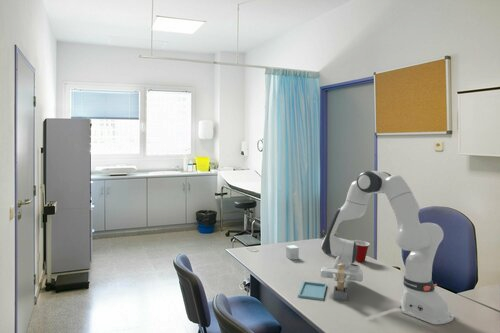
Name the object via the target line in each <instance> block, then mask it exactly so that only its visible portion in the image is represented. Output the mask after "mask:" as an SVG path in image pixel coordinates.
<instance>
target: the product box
mask: <svg viewBox="0 0 500 333" xmlns="http://www.w3.org/2000/svg"><path fill="white" fill-rule="evenodd" d="M285 249H286V250H285V252H286V253H285V257H286V258H287V259H288V260H298V259H299V256H300V255H299V254H300V251H299V249H300V248H299V246H297V245H295V244H293V245H291V244H290V245H286V247H285Z"/></svg>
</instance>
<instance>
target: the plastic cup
mask: <svg viewBox="0 0 500 333" xmlns="http://www.w3.org/2000/svg"><path fill="white" fill-rule="evenodd" d="M352 241H354V242H355V243H356V245H357V257H356V260H355V262H357V263H365V261H366V257H367V253H368V249H369V246H370V242H368V241H365V240H359V239H355V240H354V239H353V240H352Z"/></svg>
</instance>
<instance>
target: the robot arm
mask: <svg viewBox="0 0 500 333" xmlns="http://www.w3.org/2000/svg"><path fill="white" fill-rule="evenodd" d="M346 194H347V195H346V199H345V201H344V204H343V205H342V206H341V207H338V208H337V210H336V211H335V213H334V215H333V218H332V219H331V222H330V225H329V228H328V229H327V230H328V232H327V231H326V236H325V238H324V237H323V238H324V239H322V241H321V244H320V246H321V251H322V252H323V253H324V255H329V256H333V257H334V256H335V257H336V258H335V260H334V264H333V266H323V267H322V268H320V277H321V278H323V279H325V278H326V279H333V280H334V282H335V281H336V282H337V276H338V264H344V265H345V273H344V283H348V282H349V281H352V282H364V274H363V273H364V272H363V270H362V269H361V266H360V265H359V264H354V263H355V262H356V261H355V260H356V257H357V245H356V243H355V242H354V241H353V240H350V239H345V238H341V237H337V236H336V235H335V233H337V229H338V227H339V225H340V223H342V222H345V221H347V220H356V219H359V218H361V217H363V216H364V215H365V214H366V211H367V210H368V209H367V208H368V205H369V201H370V200H369V199H370V197H371V196H372V194H377V195H378V194H384V195H385V196H386V198H387V200H388V202H389V204H390V206H391V208H392V210H393V213H394V216H395V217H396V223H397V231H396V234H395V243H396V245H397V246H398V247H399V248H400V249H401V250H403V251H408V252H409V254H408V256H407V257H406V259H405V262H404V263H405V264H404V265H405V267H404V268H405V269H404V271H405V272H404V275H403V290H402V291H403V293H402V297H401V300H400V303H399V304H400V305H399V307H400V312H401V313H402V314H406V315H408V316H410V317H413V318H415V319H419V320H422V321H424V322H427V323H429V324H432V325H445V324H448V323H450V322H452V321H454V314H453V313H451V312H449V307H448V303H447V301H446V300H445V299H444V298H443V296H441V295H440V294H439V293H438V292H437V290H436V287H437V285H438V284H437V283H435V284H434V280H432V278H433V277H432V273H433V263H434V259H435V256H436V254H437V253H436V252H437V250H438V249H439V248H438V247H439V245H440V244H441V242H442V241H443V239H444V236H445V235H444V230H443V228H442V227H441V226H440V225H439V224H437V223H434V222H422V223H421V222H420V219H419V218H420V217H419V213H420V205H419V203H418V202H417V199H416V198H415V195H414V194H413V192H412V190H411V188H410V186H409V185H408V183H407V182H406V180H405V179H404V178H403V177H402V176H401V175H399V174H393V175H391V173H388V172H385V171H378V170H371V171H370V170H367V171H363V172H361V173H360V174H359V175H358V176H357V178H356V180H354V181H352V182H351V183H350V186H349V188H348V191H347V193H346ZM334 235H335V236H334Z"/></svg>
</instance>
